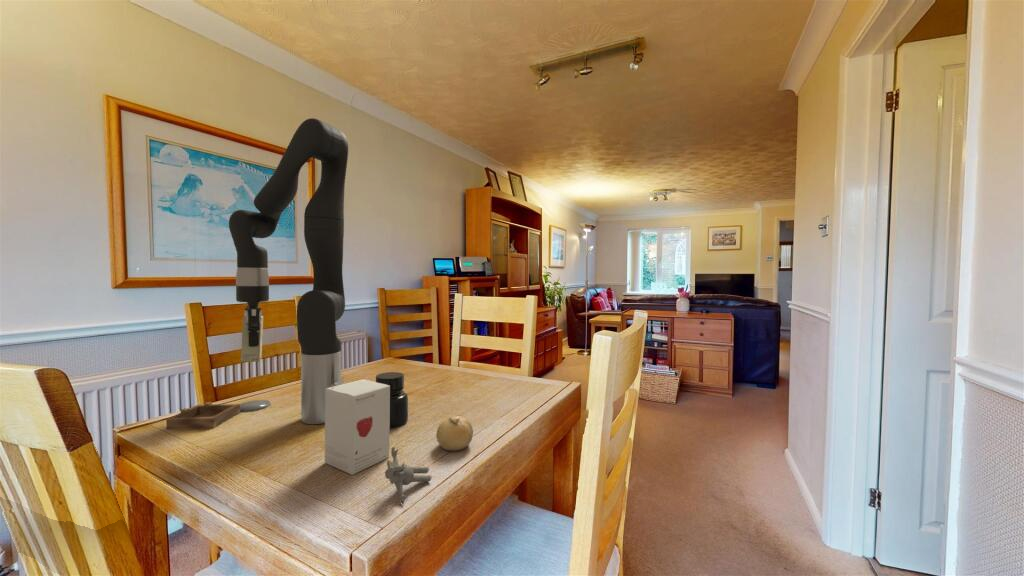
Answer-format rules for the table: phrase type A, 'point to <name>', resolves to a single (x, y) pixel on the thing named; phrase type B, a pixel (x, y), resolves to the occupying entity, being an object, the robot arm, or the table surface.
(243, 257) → the robot arm
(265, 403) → the coaster
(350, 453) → the supplement box
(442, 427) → the onion
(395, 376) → the ink bottle
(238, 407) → the brown square shallow tray
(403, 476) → the grey toy figurine
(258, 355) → the skincare box
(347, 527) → the table surface
